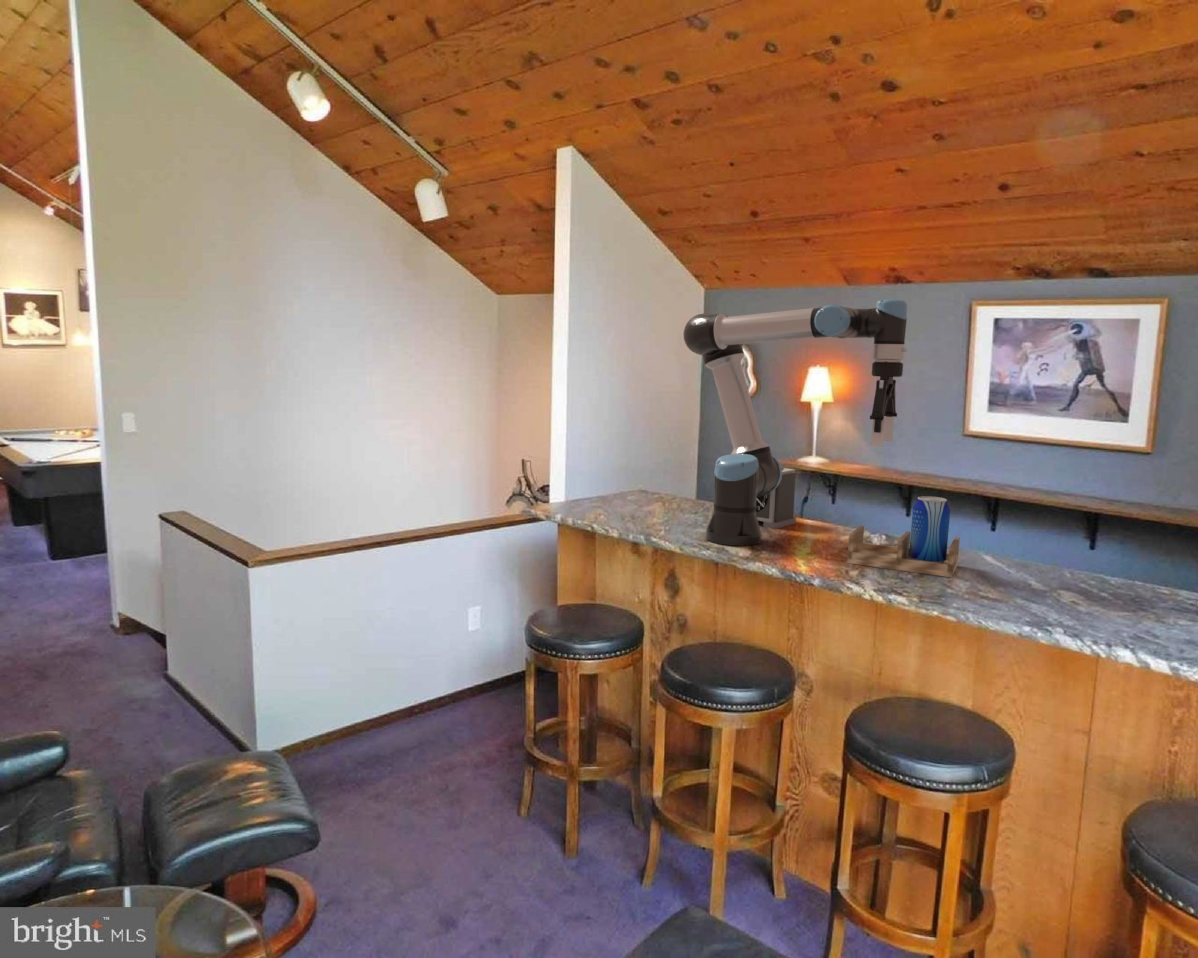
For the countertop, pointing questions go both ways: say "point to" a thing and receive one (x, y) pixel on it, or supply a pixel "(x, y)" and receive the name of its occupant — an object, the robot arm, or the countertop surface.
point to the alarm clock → (778, 503)
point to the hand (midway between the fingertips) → (881, 443)
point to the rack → (898, 555)
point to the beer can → (929, 529)
